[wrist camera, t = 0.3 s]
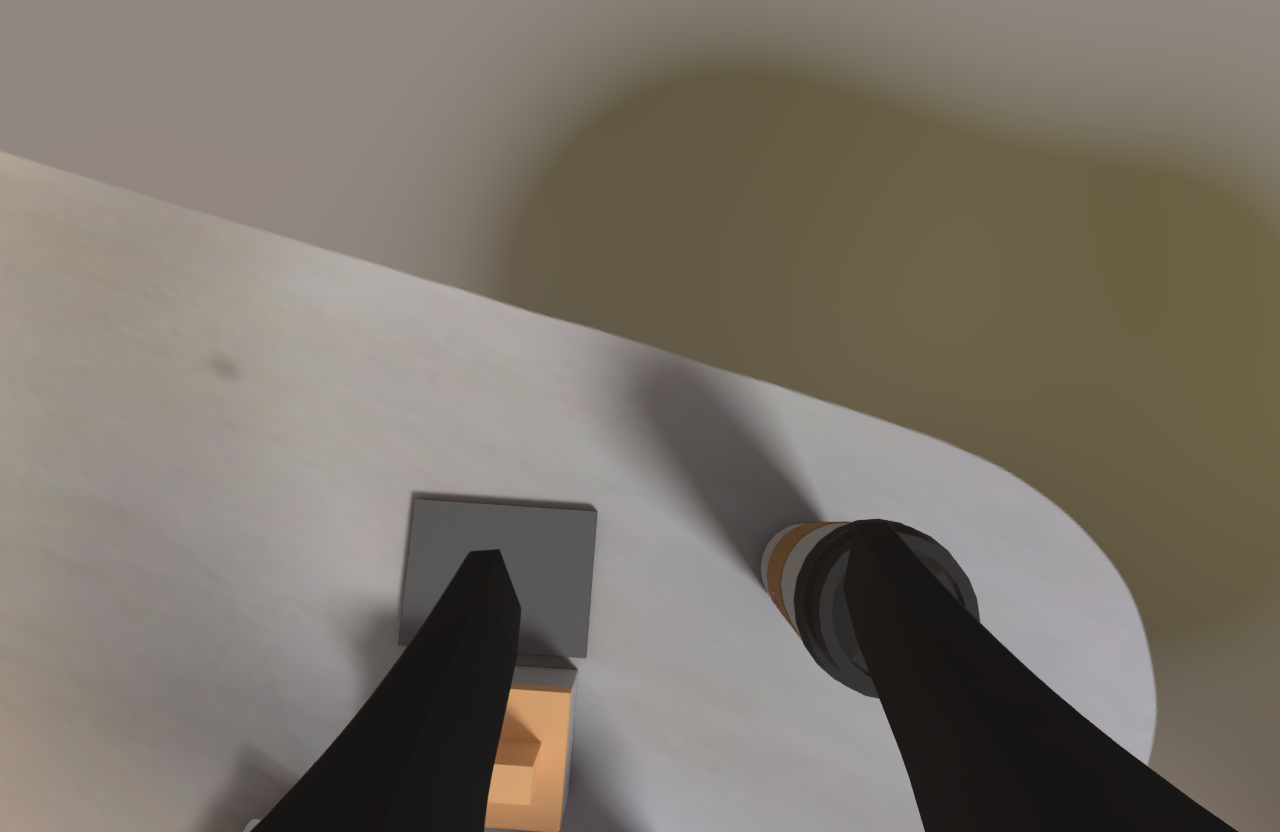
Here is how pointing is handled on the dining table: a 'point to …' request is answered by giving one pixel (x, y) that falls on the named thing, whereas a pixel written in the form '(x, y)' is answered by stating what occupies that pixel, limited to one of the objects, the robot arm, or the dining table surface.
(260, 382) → the dining table surface
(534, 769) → the lid
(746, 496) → the dining table surface
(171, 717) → the dining table surface
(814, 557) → the coffee cup
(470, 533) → the mat
